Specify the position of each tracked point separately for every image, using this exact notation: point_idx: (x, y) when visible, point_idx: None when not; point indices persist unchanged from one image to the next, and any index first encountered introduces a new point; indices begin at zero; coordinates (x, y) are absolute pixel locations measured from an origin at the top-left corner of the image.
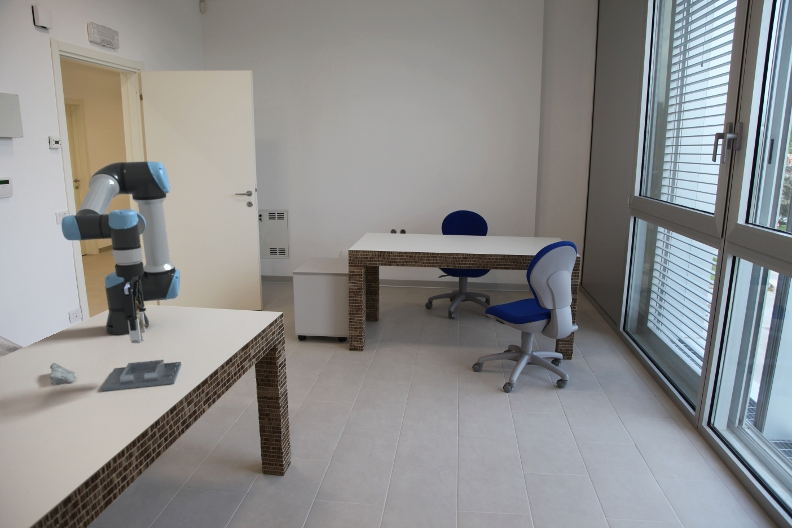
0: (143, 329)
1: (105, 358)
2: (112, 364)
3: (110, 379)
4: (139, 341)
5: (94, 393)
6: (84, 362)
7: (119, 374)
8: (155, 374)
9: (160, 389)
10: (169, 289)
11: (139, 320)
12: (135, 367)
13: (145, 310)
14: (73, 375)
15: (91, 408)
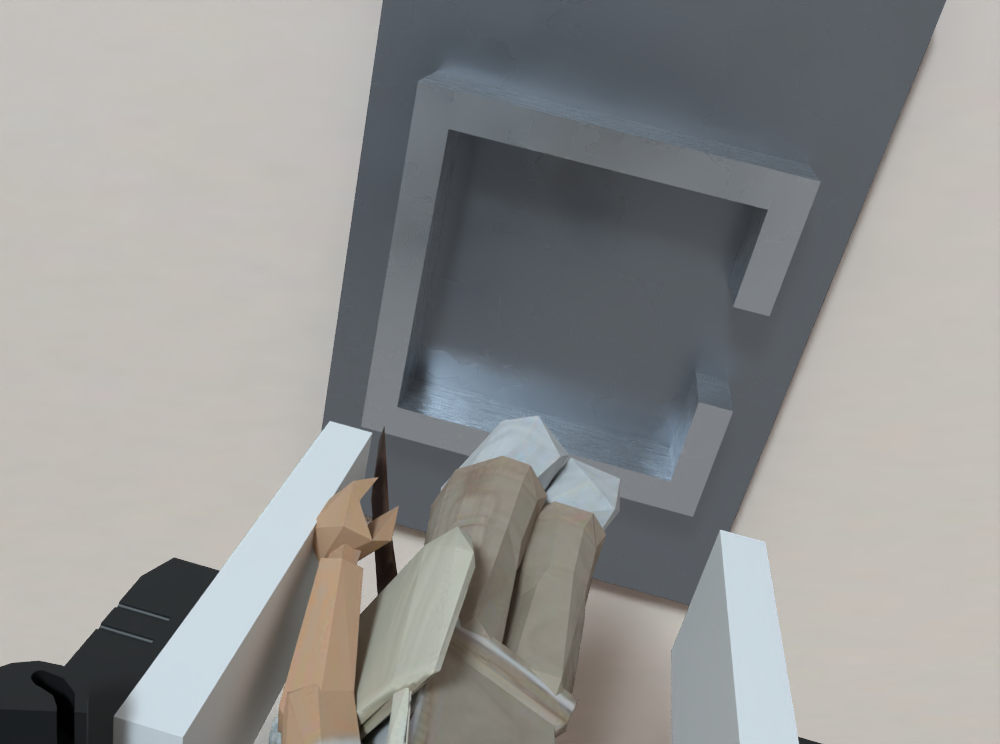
0: (348, 481)
1: (8, 523)
2: (153, 488)
3: None
4: (617, 502)
5: None
6: (53, 644)
7: None
8: (811, 200)
9: (987, 148)
10: None
11: (438, 715)
12: (413, 356)
13: (45, 674)
14: None
15: (986, 661)
